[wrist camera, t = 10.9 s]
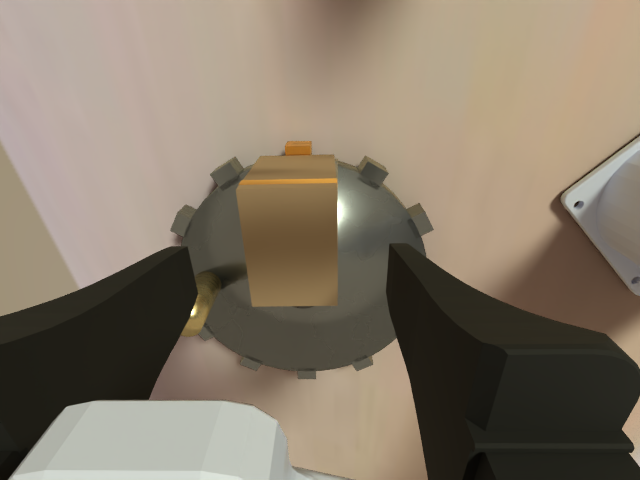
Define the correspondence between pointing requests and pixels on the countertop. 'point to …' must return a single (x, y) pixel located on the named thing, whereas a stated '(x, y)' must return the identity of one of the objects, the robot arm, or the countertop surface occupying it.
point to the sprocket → (300, 321)
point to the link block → (290, 230)
